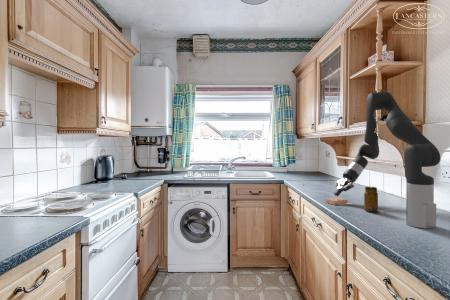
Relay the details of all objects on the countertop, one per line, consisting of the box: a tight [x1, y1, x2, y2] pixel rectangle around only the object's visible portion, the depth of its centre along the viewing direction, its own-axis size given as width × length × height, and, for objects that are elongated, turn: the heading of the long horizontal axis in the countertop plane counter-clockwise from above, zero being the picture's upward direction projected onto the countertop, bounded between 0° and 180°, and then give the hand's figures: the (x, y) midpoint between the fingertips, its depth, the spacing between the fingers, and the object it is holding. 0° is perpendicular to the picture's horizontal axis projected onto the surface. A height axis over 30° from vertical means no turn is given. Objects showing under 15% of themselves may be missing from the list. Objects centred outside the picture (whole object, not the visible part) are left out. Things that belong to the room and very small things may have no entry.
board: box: [338, 201, 353, 206], centre depth 155 cm, size 9×9×1 cm
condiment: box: [363, 186, 385, 215], centre depth 136 cm, size 7×8×12 cm
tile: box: [324, 197, 348, 206], centre depth 154 cm, size 7×2×9 cm
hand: (335, 195), depth 153 cm, fingers closed
